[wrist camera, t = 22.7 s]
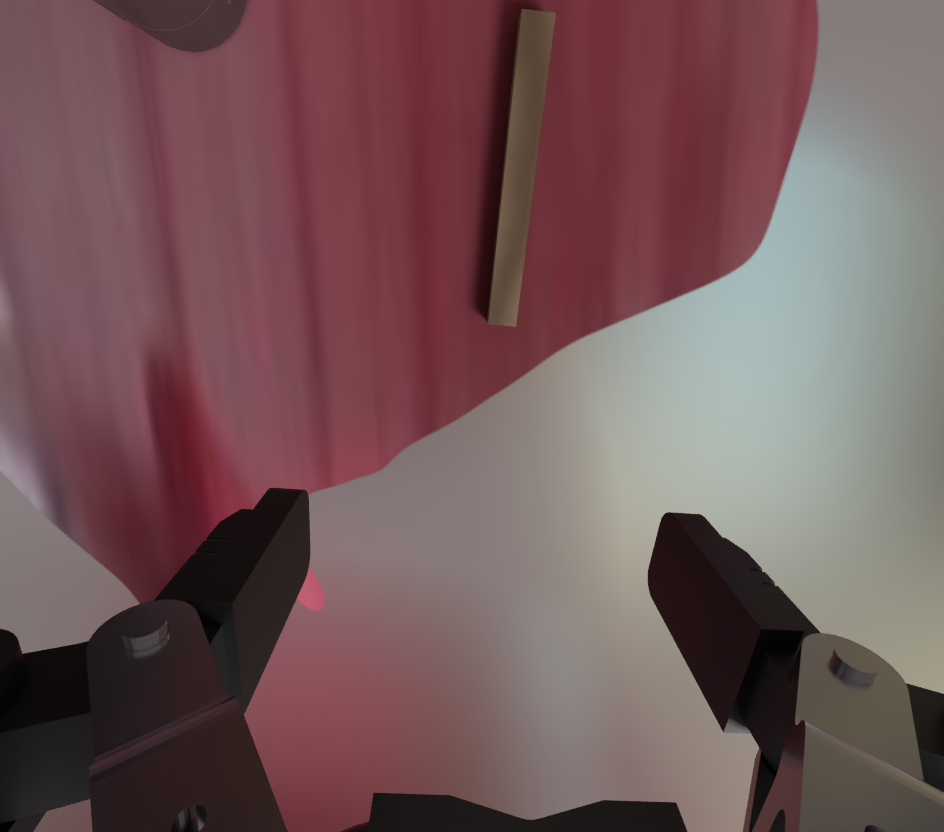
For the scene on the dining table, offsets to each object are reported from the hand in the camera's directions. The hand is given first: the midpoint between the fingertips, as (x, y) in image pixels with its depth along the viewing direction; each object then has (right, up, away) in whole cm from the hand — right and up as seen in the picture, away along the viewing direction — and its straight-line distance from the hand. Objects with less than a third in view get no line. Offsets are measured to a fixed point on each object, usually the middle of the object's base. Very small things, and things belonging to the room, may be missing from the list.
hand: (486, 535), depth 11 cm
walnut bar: (+3, +22, +29) cm, 36 cm away
